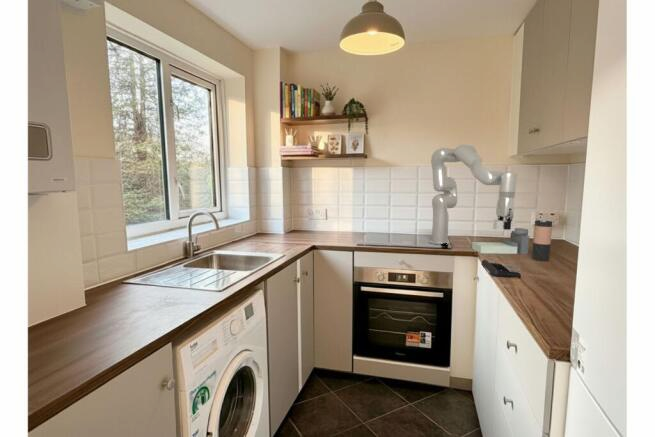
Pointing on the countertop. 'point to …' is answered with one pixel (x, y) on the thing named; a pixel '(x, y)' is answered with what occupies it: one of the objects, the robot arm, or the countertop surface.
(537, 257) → the travel mug
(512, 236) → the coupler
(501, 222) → the lock block
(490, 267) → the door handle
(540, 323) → the countertop surface
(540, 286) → the countertop surface
